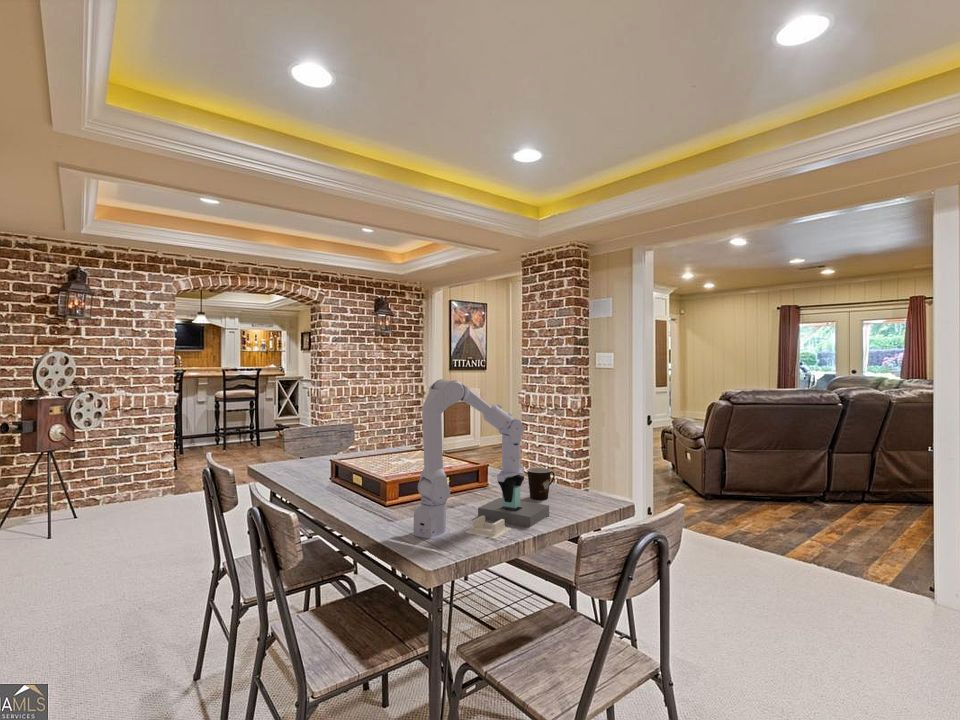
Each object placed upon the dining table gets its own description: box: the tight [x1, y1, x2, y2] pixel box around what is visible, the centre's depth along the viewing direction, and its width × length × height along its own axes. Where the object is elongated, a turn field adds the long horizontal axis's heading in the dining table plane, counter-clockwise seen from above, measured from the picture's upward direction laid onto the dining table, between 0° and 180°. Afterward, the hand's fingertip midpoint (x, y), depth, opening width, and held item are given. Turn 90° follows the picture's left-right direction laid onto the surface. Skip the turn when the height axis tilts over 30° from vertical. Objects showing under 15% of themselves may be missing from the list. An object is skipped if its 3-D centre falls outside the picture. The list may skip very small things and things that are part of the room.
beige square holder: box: [464, 516, 512, 539], centre depth 150 cm, size 10×10×4 cm
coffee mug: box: [526, 467, 556, 501], centre depth 188 cm, size 12×9×10 cm
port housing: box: [477, 497, 550, 528], centre depth 164 cm, size 14×18×4 cm
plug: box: [501, 485, 521, 508], centre depth 162 cm, size 4×4×6 cm
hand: (511, 500), depth 162 cm, fingers closed on plug, 3 cm apart
